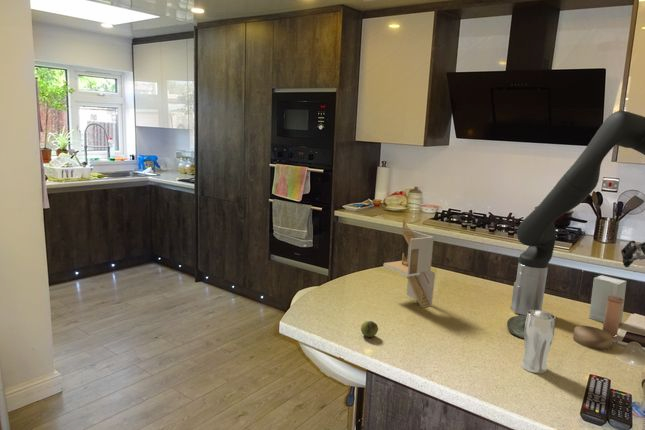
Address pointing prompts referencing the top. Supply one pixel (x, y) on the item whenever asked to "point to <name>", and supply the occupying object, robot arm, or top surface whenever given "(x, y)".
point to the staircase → (417, 266)
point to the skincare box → (605, 295)
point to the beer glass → (537, 340)
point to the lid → (517, 325)
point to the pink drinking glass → (612, 315)
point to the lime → (369, 329)
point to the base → (592, 337)
